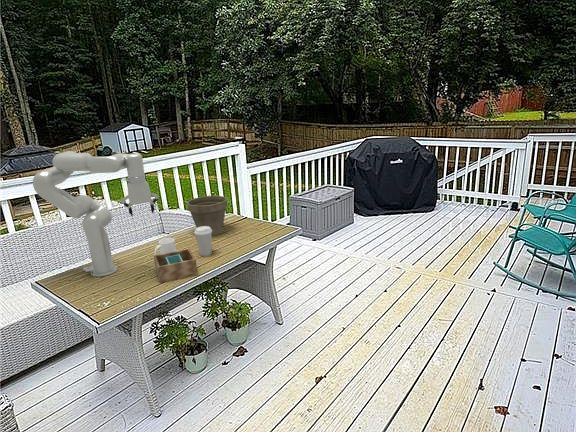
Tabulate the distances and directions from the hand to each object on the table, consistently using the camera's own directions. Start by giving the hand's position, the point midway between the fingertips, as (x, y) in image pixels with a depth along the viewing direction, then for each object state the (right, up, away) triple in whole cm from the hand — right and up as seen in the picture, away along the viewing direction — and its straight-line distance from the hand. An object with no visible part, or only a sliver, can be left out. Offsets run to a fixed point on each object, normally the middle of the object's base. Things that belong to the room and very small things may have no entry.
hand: (142, 213), depth 194 cm
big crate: (+15, -29, +5) cm, 34 cm away
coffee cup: (+26, -22, +26) cm, 43 cm away
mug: (+5, -25, +21) cm, 33 cm away
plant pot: (+22, -12, +60) cm, 65 cm away
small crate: (+15, -28, +4) cm, 33 cm away
